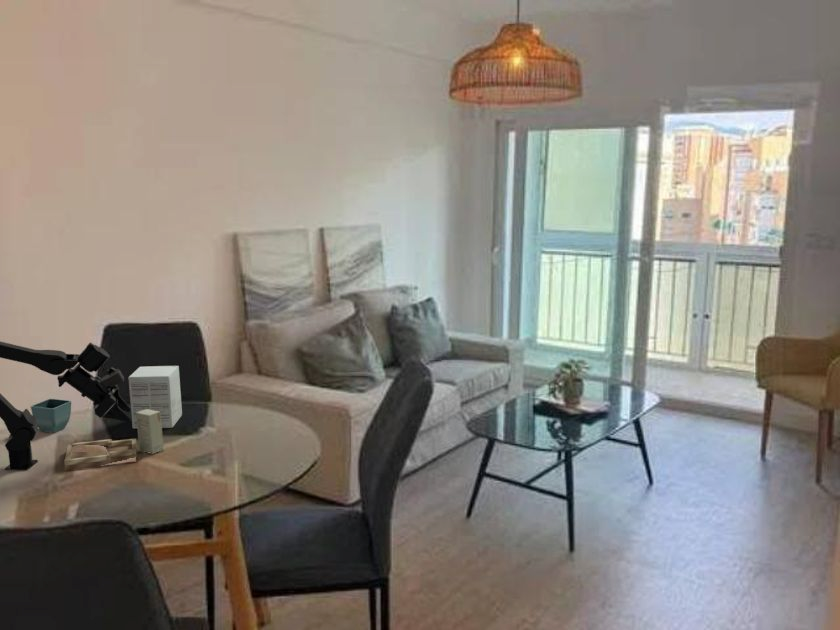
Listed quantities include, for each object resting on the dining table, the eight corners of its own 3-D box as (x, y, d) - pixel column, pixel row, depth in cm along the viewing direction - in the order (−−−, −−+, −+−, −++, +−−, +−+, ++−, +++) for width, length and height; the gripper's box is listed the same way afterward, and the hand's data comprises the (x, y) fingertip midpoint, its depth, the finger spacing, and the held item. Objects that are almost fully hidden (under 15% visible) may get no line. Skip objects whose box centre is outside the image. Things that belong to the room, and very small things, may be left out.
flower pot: (74, 426, 256) (72, 400, 254) (55, 435, 248) (52, 408, 246) (52, 424, 258) (49, 398, 256) (32, 433, 250) (29, 406, 248)
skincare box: (164, 450, 235) (161, 411, 232) (152, 455, 231) (149, 415, 229) (150, 446, 238) (147, 408, 236) (138, 450, 235) (135, 411, 232)
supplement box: (143, 415, 266) (139, 366, 263) (182, 414, 267) (179, 365, 264) (131, 429, 253) (127, 377, 250) (172, 428, 254) (169, 376, 251)
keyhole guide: (64, 470, 220) (64, 462, 219) (69, 451, 235) (69, 442, 234) (136, 462, 226) (136, 453, 225) (137, 443, 241) (136, 435, 240)
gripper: (103, 370, 217) (148, 404, 223) (106, 354, 234) (148, 386, 240) (75, 401, 216) (121, 433, 222) (80, 382, 233) (123, 413, 239)
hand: (129, 415), depth 231 cm, fingers open, 9 cm apart
